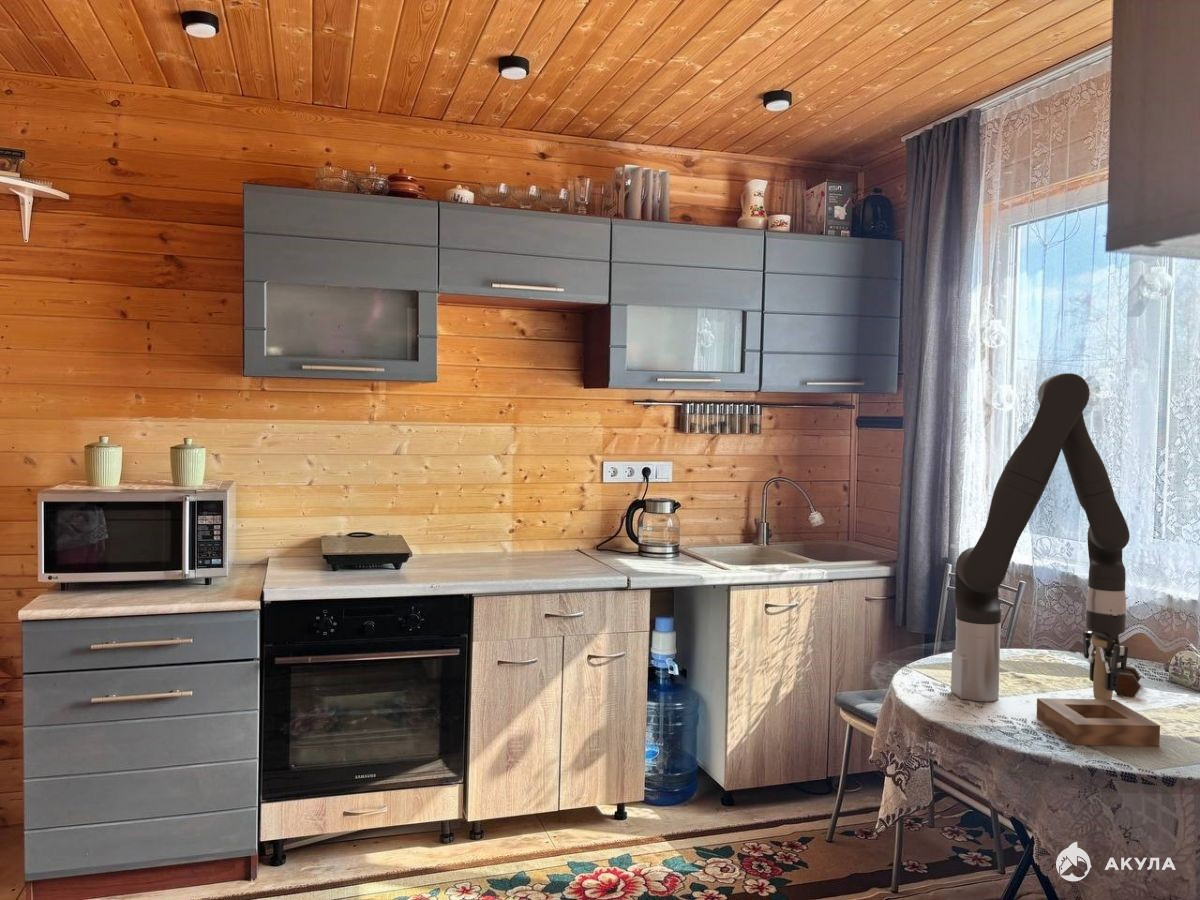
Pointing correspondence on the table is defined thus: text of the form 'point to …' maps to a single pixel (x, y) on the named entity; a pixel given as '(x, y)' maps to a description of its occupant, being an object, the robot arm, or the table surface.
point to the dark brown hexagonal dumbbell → (1128, 683)
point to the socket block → (1098, 722)
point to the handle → (1100, 672)
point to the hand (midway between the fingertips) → (1103, 685)
